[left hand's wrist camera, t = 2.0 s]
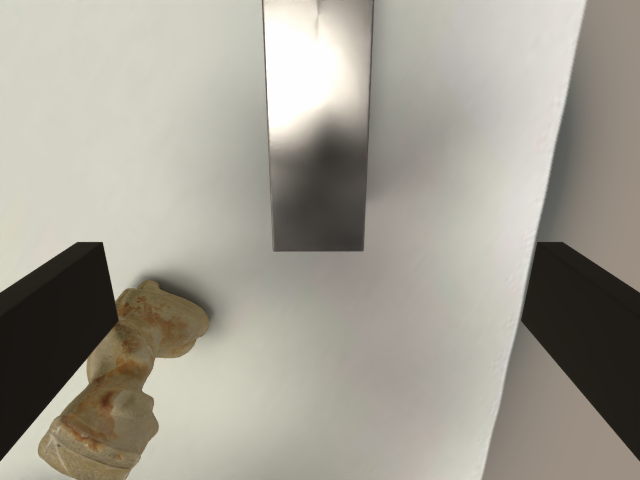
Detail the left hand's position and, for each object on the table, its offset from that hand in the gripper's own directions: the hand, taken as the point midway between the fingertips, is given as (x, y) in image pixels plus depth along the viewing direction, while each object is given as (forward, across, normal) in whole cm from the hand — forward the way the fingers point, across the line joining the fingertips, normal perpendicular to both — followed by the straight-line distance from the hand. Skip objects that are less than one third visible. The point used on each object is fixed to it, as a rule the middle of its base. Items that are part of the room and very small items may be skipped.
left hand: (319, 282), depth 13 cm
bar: (+20, 0, -9) cm, 21 cm away
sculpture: (+20, +13, +12) cm, 26 cm away
